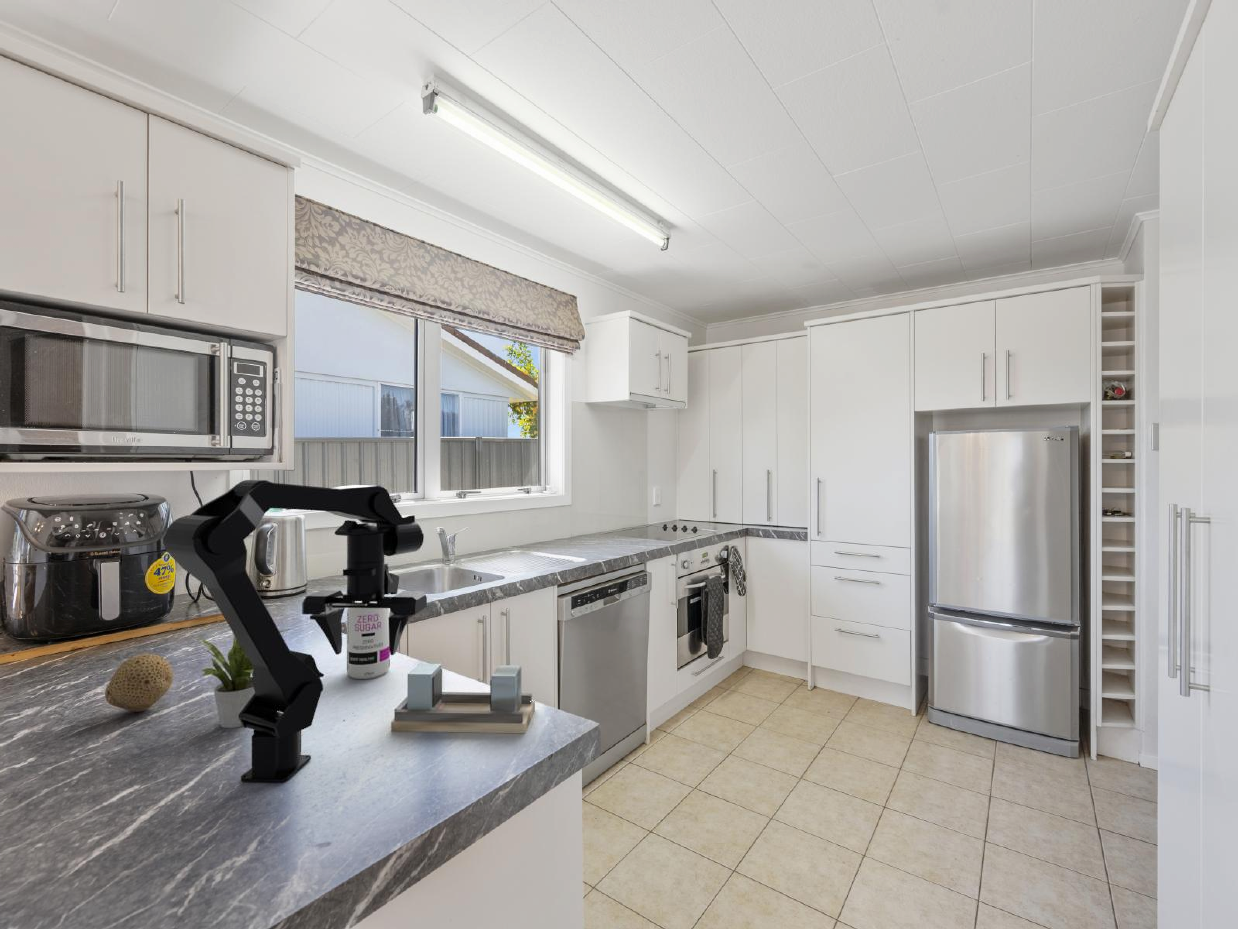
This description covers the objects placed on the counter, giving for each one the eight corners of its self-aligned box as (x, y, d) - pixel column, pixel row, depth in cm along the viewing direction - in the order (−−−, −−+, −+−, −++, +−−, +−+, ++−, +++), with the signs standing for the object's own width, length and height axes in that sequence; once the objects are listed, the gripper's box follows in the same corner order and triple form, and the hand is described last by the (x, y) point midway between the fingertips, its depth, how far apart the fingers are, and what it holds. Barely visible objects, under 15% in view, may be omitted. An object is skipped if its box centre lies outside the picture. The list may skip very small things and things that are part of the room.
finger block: (432, 716, 95) (433, 674, 95) (407, 716, 95) (407, 674, 96) (442, 703, 100) (443, 664, 100) (418, 703, 100) (418, 663, 100)
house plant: (310, 715, 99) (311, 621, 99) (222, 749, 87) (222, 642, 87) (265, 698, 107) (266, 610, 107) (178, 727, 95) (179, 629, 95)
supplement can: (377, 663, 125) (377, 595, 125) (397, 672, 120) (397, 600, 120) (339, 674, 119) (339, 601, 119) (358, 683, 114) (359, 608, 114)
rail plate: (524, 733, 93) (524, 681, 93) (391, 731, 94) (391, 679, 94) (534, 709, 102) (534, 662, 102) (412, 707, 103) (412, 660, 103)
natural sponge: (182, 709, 102) (182, 653, 102) (117, 728, 94) (117, 667, 94) (162, 697, 107) (162, 644, 107) (100, 714, 100) (100, 657, 100)
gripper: (438, 553, 103) (438, 640, 103) (336, 552, 104) (336, 638, 104) (413, 564, 92) (413, 661, 92) (300, 563, 93) (299, 659, 93)
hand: (365, 654), depth 95 cm, fingers open, 9 cm apart
